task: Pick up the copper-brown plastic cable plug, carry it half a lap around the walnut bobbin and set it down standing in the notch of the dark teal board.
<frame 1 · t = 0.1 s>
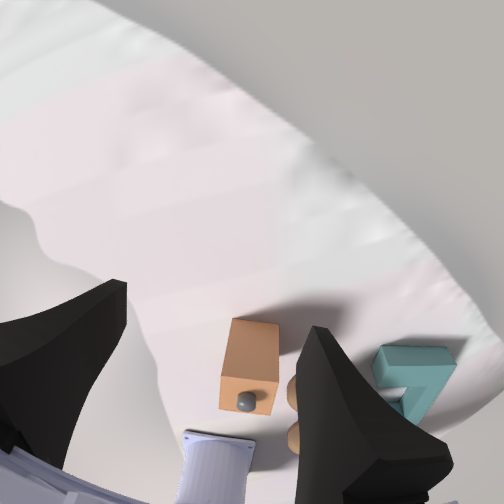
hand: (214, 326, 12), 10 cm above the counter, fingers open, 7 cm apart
notch board: (395, 386, 26), on the counter
bobbin: (322, 388, 26), on the counter
plug: (253, 339, 24), on the counter
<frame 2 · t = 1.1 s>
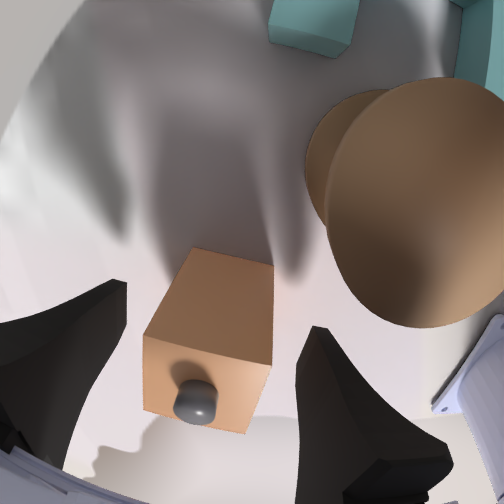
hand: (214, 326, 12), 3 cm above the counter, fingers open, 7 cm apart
notch board: (409, 8, 9), on the counter
bobbin: (384, 171, 12), on the counter
plug: (225, 291, 14), on the counter
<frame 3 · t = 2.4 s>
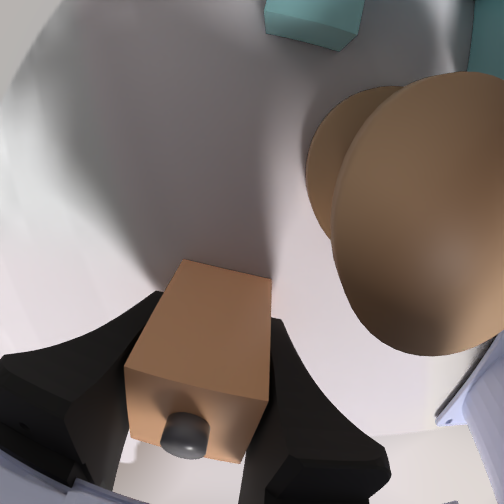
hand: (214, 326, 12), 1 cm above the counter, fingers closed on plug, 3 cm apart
bobbin: (393, 176, 10), on the counter
plug: (219, 306, 13), on the counter, touching gripper
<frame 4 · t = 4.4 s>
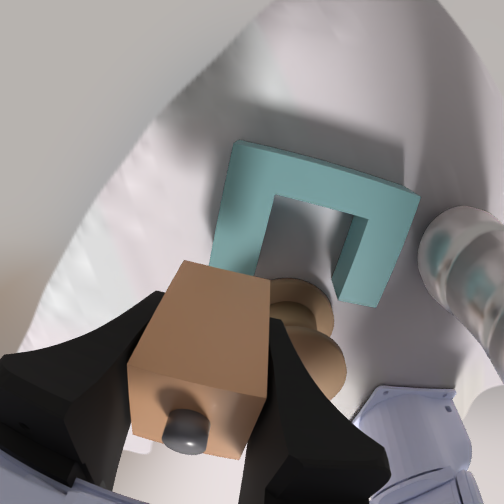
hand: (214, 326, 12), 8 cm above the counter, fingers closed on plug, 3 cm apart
notch board: (310, 218, 19), on the counter
bobbin: (285, 319, 21), on the counter
plug: (219, 306, 13), point 7 cm above the counter, touching gripper
plastic bottle: (448, 242, 19), on the counter
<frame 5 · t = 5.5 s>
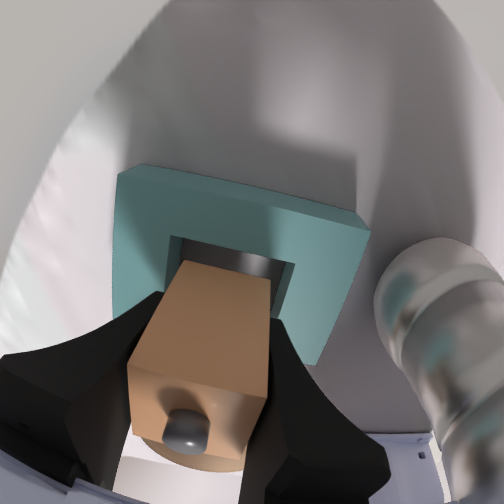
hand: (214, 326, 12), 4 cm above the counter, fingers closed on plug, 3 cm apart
notch board: (232, 256, 15), on the counter
bobbin: (218, 365, 18), on the counter
plug: (219, 305, 13), point 3 cm above the counter, touching gripper
plastic bottle: (420, 280, 15), on the counter
when the fingers open (3 cm above the counter, at t = 6.5 s): plug drops 1 cm, on the counter.
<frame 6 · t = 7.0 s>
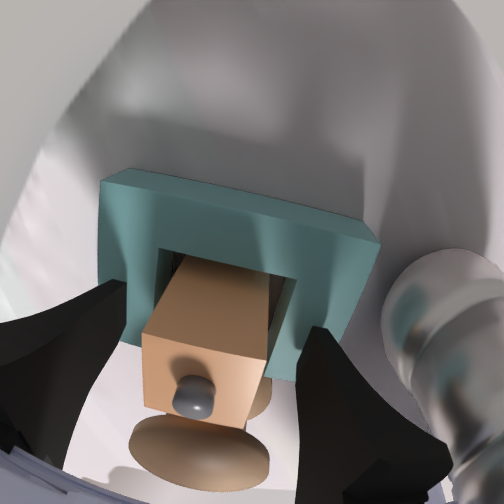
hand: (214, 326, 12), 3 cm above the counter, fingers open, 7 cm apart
notch board: (228, 268, 14), on the counter
bobbin: (214, 380, 17), on the counter
plug: (223, 289, 15), on the counter
plastic bottle: (429, 292, 14), on the counter
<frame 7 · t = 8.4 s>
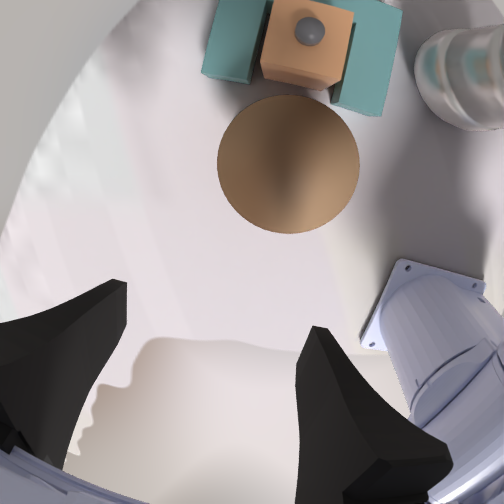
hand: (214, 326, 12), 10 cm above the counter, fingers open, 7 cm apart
notch board: (302, 42, 16), on the counter
bobbin: (284, 152, 19), on the counter
plug: (298, 58, 17), on the counter
plastic bottle: (445, 82, 16), on the counter
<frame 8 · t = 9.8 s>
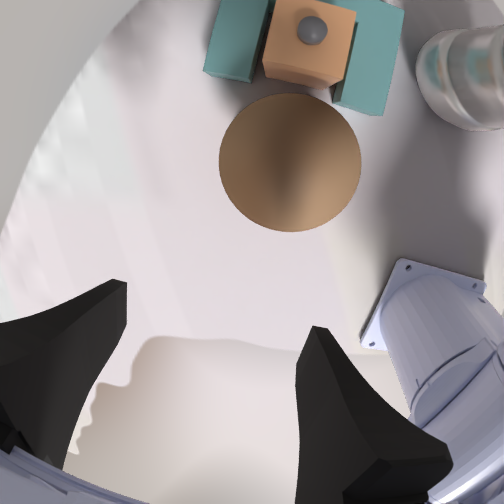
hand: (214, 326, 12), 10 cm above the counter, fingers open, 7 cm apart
notch board: (304, 41, 16), on the counter
bobbin: (286, 151, 19), on the counter
plug: (300, 57, 17), on the counter
plastic bottle: (446, 82, 16), on the counter
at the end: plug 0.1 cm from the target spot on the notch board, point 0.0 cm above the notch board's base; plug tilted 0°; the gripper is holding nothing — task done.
